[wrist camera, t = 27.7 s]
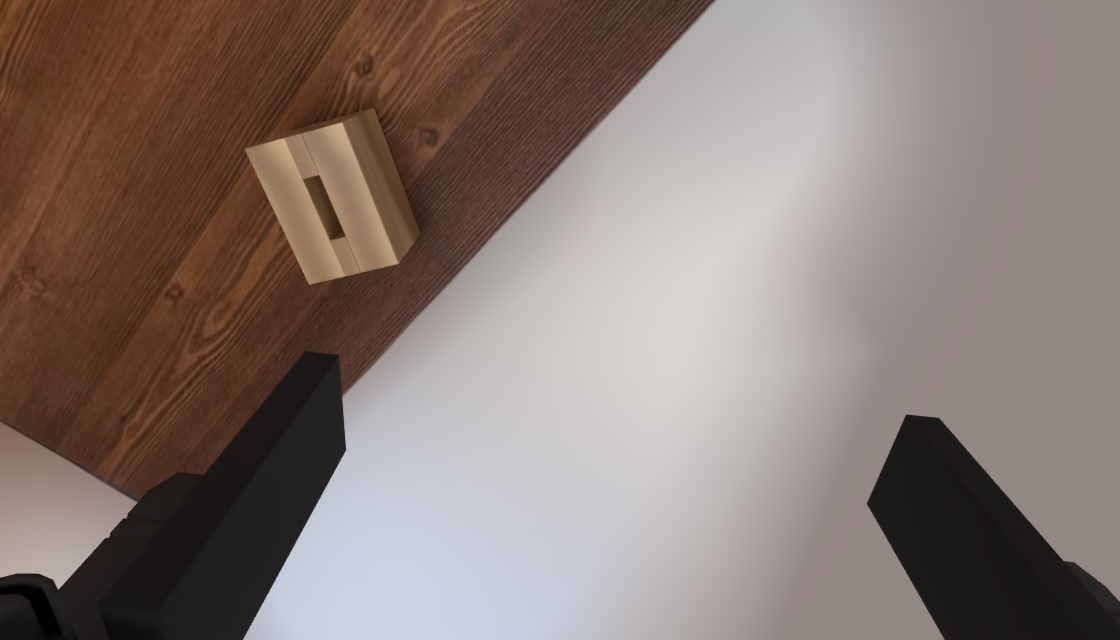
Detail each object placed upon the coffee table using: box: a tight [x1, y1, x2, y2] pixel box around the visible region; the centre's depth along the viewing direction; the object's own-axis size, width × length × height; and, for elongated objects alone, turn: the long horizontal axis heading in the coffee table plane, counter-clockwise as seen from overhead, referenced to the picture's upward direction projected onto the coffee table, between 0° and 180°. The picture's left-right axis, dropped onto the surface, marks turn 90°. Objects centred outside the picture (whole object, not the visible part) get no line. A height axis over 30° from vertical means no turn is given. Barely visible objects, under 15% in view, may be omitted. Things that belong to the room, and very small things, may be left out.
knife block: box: [245, 108, 420, 284], centre depth 44 cm, size 7×10×7 cm
